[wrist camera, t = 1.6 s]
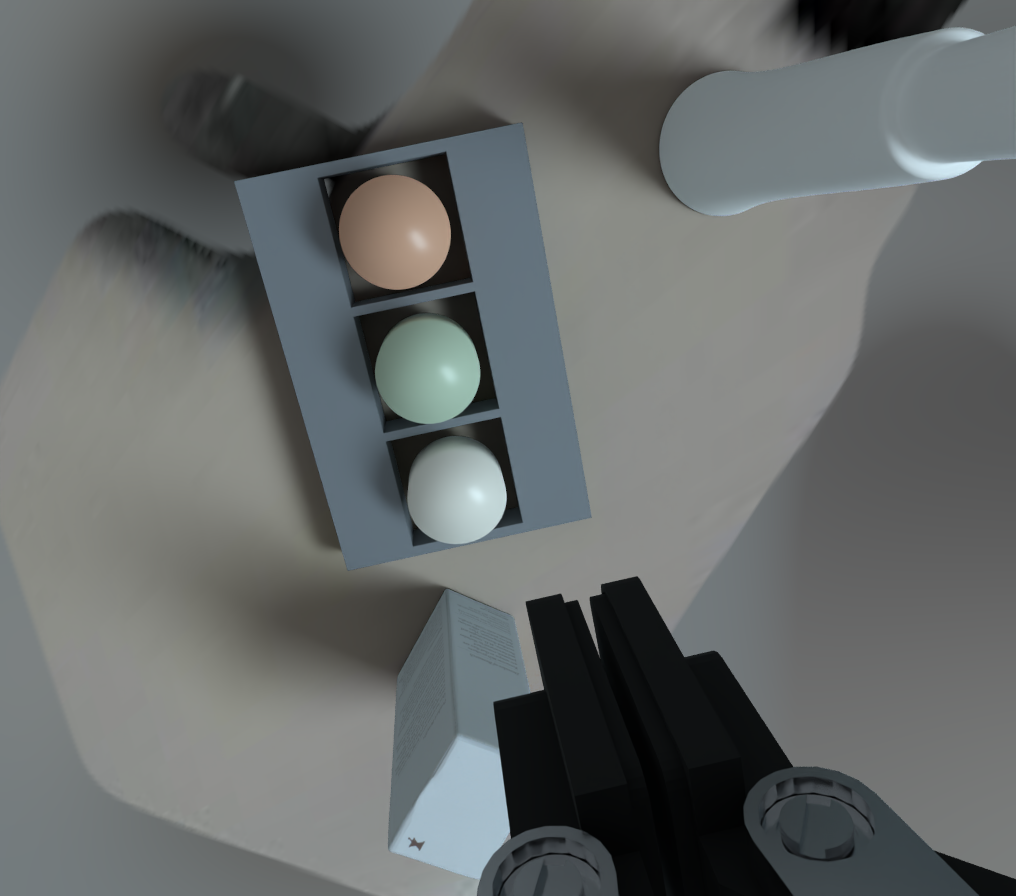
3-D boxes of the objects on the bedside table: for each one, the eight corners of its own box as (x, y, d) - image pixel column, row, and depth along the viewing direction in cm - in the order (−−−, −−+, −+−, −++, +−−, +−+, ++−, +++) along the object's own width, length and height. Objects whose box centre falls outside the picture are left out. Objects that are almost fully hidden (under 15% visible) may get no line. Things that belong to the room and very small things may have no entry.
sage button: (465, 303, 34) (468, 311, 32) (486, 398, 36) (489, 411, 34) (368, 324, 34) (363, 333, 32) (392, 418, 36) (389, 433, 33)
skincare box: (466, 703, 43) (479, 886, 31) (395, 675, 42) (381, 854, 30) (518, 613, 41) (551, 771, 30) (446, 582, 40) (451, 734, 29)
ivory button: (492, 426, 36) (496, 442, 34) (510, 512, 38) (514, 532, 35) (399, 446, 36) (397, 463, 34) (420, 531, 38) (420, 553, 35)
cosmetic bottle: (735, 39, 34) (1227, -217, 13) (815, 149, 35) (1364, 80, 15) (630, 141, 35) (931, 56, 14) (713, 244, 36) (1093, 306, 15)
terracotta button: (436, 166, 33) (437, 164, 30) (459, 272, 34) (461, 277, 32) (333, 188, 33) (326, 187, 30) (360, 292, 34) (355, 299, 32)
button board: (517, 126, 34) (522, 122, 32) (584, 502, 40) (591, 517, 38) (245, 182, 34) (233, 181, 32) (351, 552, 39) (347, 570, 37)
